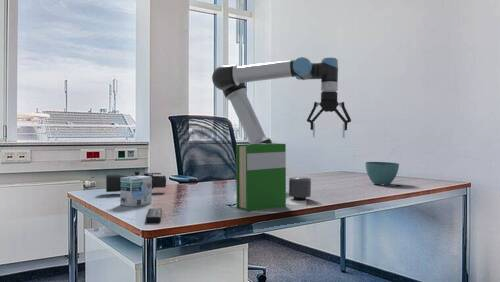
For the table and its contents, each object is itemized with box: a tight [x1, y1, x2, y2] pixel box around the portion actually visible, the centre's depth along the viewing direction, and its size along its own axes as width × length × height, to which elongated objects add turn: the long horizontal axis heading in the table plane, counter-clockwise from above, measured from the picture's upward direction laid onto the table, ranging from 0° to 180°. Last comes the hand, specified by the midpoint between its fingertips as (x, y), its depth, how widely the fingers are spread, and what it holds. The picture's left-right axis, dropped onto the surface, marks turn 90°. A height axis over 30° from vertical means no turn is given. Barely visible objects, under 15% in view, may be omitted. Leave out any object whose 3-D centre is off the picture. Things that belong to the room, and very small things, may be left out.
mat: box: [286, 197, 307, 206], centre depth 168 cm, size 12×16×1 cm
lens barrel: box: [293, 197, 307, 201], centre depth 172 cm, size 5×5×8 cm
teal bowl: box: [364, 161, 400, 186], centre depth 230 cm, size 18×18×12 cm
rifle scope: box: [105, 171, 167, 193], centre depth 186 cm, size 10×26×10 cm, turn 110°
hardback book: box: [235, 142, 287, 213], centre depth 153 cm, size 18×7×24 cm, turn 124°
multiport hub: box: [145, 207, 163, 224], centre depth 133 cm, size 4×14×2 cm, turn 10°
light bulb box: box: [119, 174, 153, 208], centre depth 158 cm, size 11×7×11 cm, turn 148°
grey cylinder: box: [288, 176, 312, 198], centre depth 172 cm, size 9×9×8 cm
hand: (328, 137), depth 189 cm, fingers open, 13 cm apart
